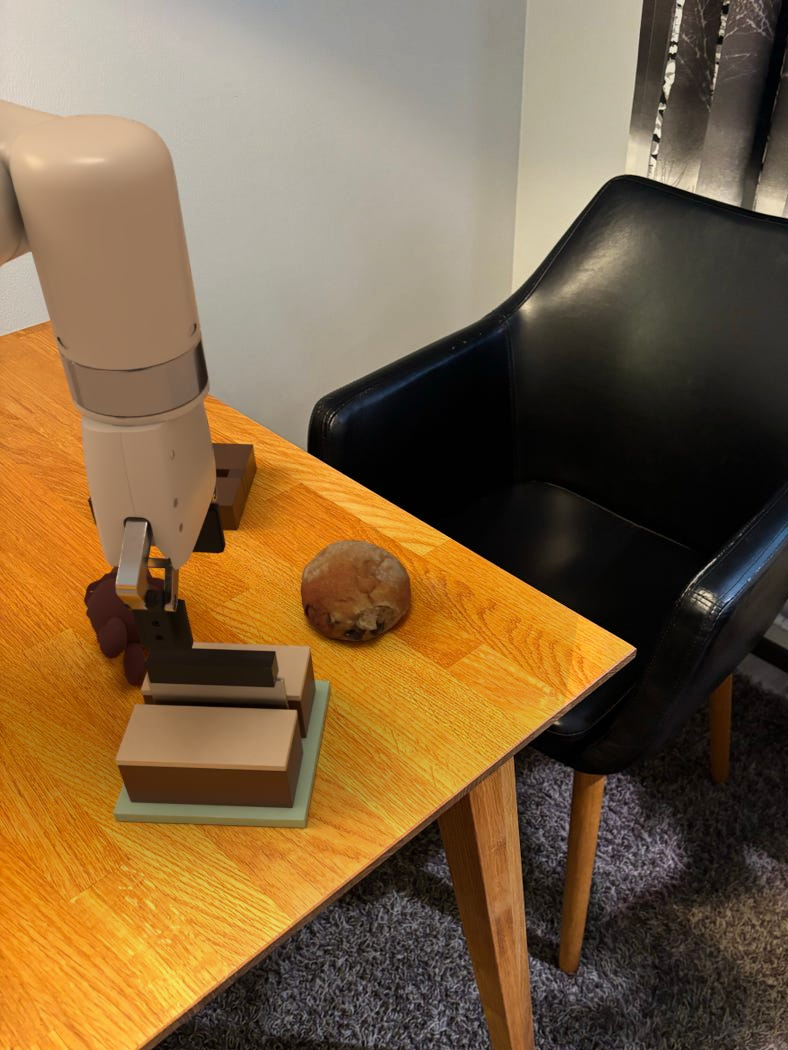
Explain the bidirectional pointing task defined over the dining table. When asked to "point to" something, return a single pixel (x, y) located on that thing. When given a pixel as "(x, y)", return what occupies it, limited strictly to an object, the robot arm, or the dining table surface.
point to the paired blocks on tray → (226, 754)
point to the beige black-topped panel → (216, 678)
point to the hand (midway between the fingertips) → (186, 595)
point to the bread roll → (354, 590)
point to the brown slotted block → (230, 480)
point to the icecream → (117, 623)
